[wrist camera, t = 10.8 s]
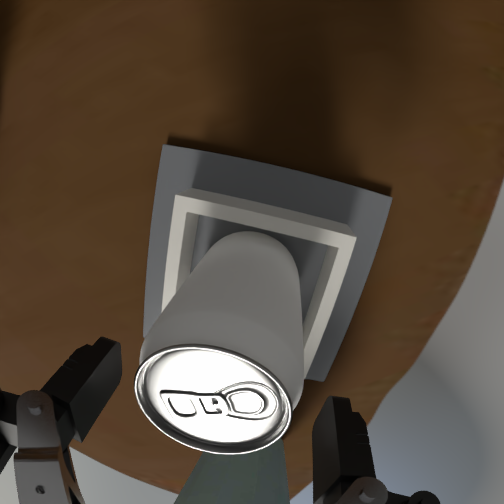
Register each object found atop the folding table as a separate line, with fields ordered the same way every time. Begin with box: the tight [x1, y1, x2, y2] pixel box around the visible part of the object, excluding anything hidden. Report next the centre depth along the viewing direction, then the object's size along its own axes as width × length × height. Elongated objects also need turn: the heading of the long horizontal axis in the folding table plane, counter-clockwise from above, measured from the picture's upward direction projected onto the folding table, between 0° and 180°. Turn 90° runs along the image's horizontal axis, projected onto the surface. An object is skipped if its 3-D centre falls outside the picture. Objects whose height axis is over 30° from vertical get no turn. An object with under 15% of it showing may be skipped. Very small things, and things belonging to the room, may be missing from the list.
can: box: [134, 231, 304, 454], centre depth 15 cm, size 6×6×12 cm
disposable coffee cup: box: [174, 438, 290, 504], centre depth 20 cm, size 11×11×15 cm
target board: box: [143, 144, 392, 382], centre depth 20 cm, size 15×15×4 cm
